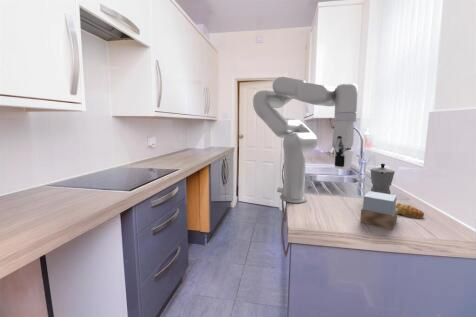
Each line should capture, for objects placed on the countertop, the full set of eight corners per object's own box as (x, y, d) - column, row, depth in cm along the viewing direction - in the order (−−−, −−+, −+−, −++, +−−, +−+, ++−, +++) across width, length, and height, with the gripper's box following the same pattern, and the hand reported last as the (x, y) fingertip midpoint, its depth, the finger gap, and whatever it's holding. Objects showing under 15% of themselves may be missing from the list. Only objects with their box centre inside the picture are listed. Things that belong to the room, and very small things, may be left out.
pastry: (425, 216, 93) (426, 206, 93) (421, 220, 89) (422, 211, 88) (397, 209, 100) (398, 201, 99) (392, 213, 96) (393, 204, 95)
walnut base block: (360, 222, 87) (361, 209, 86) (366, 215, 94) (367, 202, 94) (392, 230, 80) (393, 216, 80) (396, 221, 88) (398, 208, 87)
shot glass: (336, 165, 97) (337, 148, 96) (354, 167, 92) (355, 149, 91) (330, 168, 91) (331, 149, 90) (349, 170, 87) (350, 150, 86)
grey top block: (362, 209, 86) (363, 196, 85) (368, 203, 93) (369, 191, 92) (392, 215, 80) (393, 201, 80) (395, 208, 87) (396, 195, 86)
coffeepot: (391, 208, 101) (396, 166, 99) (366, 204, 106) (370, 164, 103) (391, 199, 114) (394, 162, 112) (368, 195, 119) (371, 160, 116)
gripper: (342, 119, 98) (340, 162, 101) (326, 117, 86) (324, 167, 88) (362, 118, 93) (359, 163, 96) (348, 117, 81) (345, 169, 83)
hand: (342, 164), depth 92 cm, fingers closed on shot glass, 6 cm apart
